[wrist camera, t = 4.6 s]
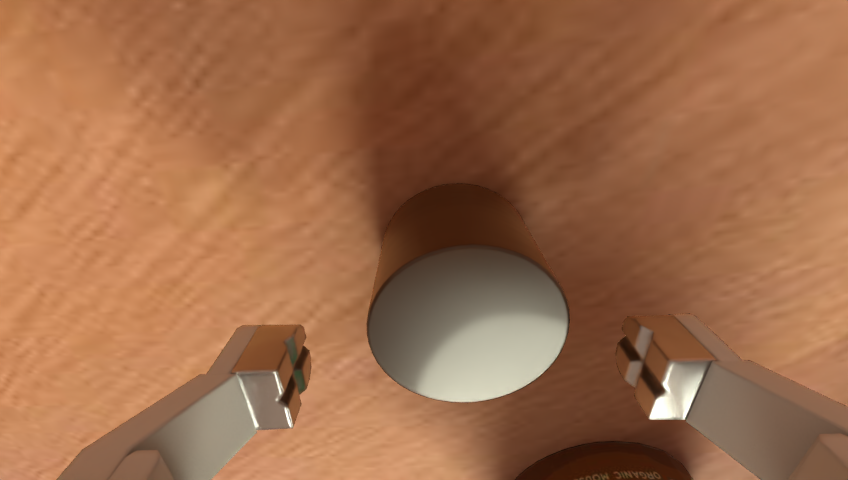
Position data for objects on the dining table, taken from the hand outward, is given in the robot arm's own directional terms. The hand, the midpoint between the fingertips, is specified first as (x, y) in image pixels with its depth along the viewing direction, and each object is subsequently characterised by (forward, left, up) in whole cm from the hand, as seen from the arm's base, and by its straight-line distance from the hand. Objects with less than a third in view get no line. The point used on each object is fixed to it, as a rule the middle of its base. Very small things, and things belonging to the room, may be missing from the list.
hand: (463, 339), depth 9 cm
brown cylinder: (-1, 0, -4) cm, 4 cm away
